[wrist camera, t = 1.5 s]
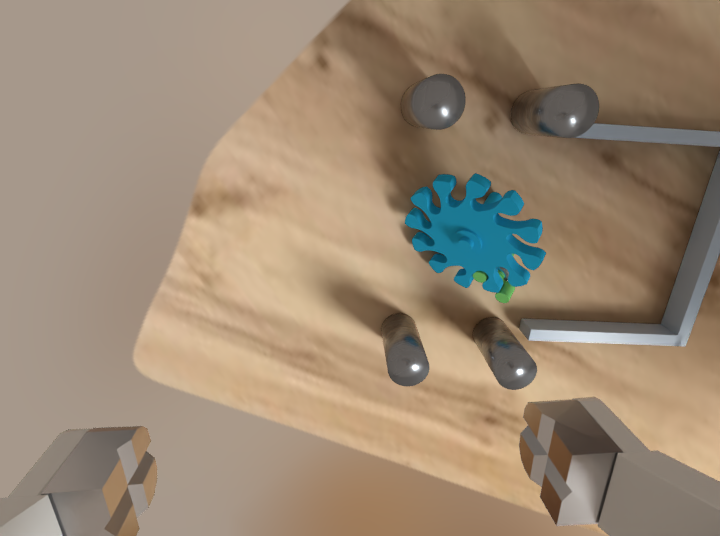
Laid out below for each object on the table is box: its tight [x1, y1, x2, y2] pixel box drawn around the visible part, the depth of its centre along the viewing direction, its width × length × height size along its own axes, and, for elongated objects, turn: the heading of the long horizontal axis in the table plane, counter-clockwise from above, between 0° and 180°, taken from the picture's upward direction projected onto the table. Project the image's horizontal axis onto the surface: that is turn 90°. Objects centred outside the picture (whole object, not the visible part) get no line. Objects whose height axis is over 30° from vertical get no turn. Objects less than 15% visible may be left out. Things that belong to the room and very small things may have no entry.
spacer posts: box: [381, 74, 599, 390], centre depth 30 cm, size 11×21×6 cm, turn 176°
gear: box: [405, 173, 546, 303], centre depth 31 cm, size 11×6×10 cm
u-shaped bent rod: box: [519, 123, 720, 346], centre depth 33 cm, size 14×17×2 cm
